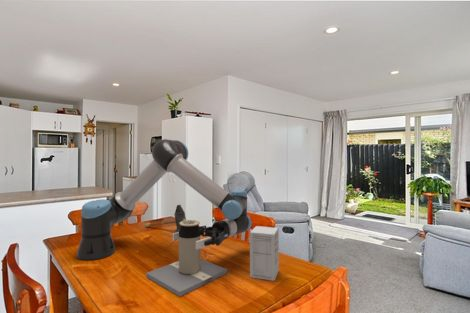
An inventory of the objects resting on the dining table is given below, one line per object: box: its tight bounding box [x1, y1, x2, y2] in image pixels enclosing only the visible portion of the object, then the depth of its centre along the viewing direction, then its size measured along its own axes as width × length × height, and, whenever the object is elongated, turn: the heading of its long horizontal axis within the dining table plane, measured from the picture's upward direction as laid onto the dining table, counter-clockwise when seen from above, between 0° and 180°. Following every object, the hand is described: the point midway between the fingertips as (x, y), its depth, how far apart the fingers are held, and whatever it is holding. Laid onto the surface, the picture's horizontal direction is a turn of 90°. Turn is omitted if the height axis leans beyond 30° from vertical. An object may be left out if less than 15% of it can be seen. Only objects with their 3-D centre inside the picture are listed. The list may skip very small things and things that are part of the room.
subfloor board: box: [145, 258, 228, 297], centre depth 98 cm, size 20×22×2 cm
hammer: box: [144, 204, 187, 233], centre depth 155 cm, size 6×16×30 cm
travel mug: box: [178, 219, 201, 274], centre depth 98 cm, size 8×8×18 cm
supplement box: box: [249, 225, 280, 282], centre depth 99 cm, size 10×9×17 cm
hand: (184, 241), depth 96 cm, fingers open, 13 cm apart
